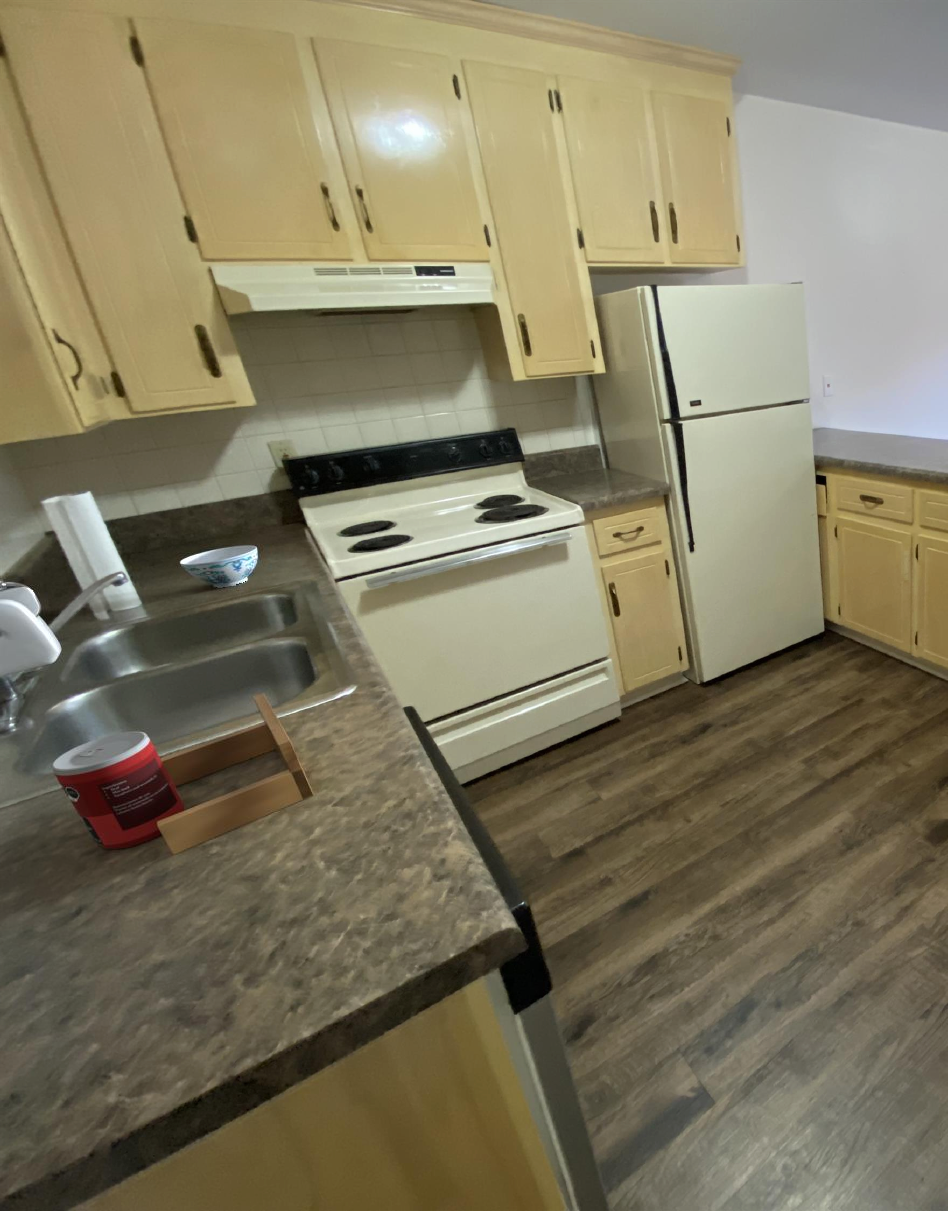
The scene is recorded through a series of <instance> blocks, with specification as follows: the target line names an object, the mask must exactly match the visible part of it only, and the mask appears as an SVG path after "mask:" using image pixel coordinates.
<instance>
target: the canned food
mask: <svg viewBox="0 0 948 1211" xmlns="http://www.w3.org/2000/svg"><path fill="white" fill-rule="evenodd" d="M160 758H161V757H160V755H159V754H158V750H156V748H155V746H154V744H153V742H152V740H151V738H150V737H149V736H148V734H147V733H146V732H143V731H126V732H125V731H124V732H119V733H114V734H110V735H106V736H103V737H99V738H96V739H93V740H91V741H88V742H85V743H83V744H80V745H78V746H76V747H73V748H72V749H70V750H68V751H66V752H64V753H62V754H61V755H60V756H59V757H57V758H56V759H55V760H54V761H53V762H52V763H51V766H50V768H51V769H52V773H53V774H54V776H55V778H56V780H57V781H58V783H59V785H60V786H61V788H62V790H63V791H64V793H65V794H66V796H67V797H68V799H69V801H70V802H71V804H72V806H73V807H74V809H75V811H76V813H77V814H78V815H79V817H80V819H81V821H82V822H83V824H84V825H85V827H86V829H87V830H88V832H89V834H90V835H91V836H92V837H91V838H93V840H94V842H95V843H96V844H98V845H99V846H101V847H102V848H104V849H107V850H119V849H120V850H121V849H125V848H130V847H134V846H137V845H141V844H143V843H147V842H148V841H151V840H153V839H155V838H158V837H160V836H162V834H161V832H160V830H159V828H158V826H157V822H158V821H160V820H163V819H165V818H168V817H170V816H173V815H175V814H178V813H180V812H183V811H185V810H186V809H185V803H184V802H183V799H182V797H181V796H180V793H179V792H178V790H177V788H176V787H175V786H174V784H173V782H172V780H171V778H170V776H169V774H168V772H167V771H166V769H165V767H164V765H163V763H162V761H161V759H160Z"/></svg>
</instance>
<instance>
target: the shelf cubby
mask: <svg viewBox="0 0 948 1211" xmlns="http://www.w3.org/2000/svg"><path fill="white" fill-rule="evenodd" d="M252 699H253V700H254V702H255V705H256V707H257V709H258V712H259V713H260V716H261V719H262V720H263V722H259V723H257V724H254V725H251V726H248V727H245V728H242V729H240V730H236V731H234V732H231V733H228V734H226V735H223V736H219V737H217V738H214V739H211V740H209V741H205V742H202V743H200V744H197V745H194V746H191V747H188V748H186V749H183V750H180V751H177V752H174V753H171V754H168V755H166V756H163V757H160V759H161V761H162V763H163V765H164V767H165V769H166V771H167V772H168V774H169V776H170V778H171V780H172V782H173V784H174V786H175V788H176V787H179V786H182V785H184V784H187V783H190V782H192V781H195V780H198V779H200V778H203V777H205V776H209V775H210V774H214V773H216V772H219V771H222V770H224V769H227V768H230V767H232V766H235V765H237V764H240V763H242V762H245V761H248V760H251V759H253V758H256V757H258V755H259V756H261V755H264V754H267V753H270V752H272V751H274V749H275V750H276V751H277V753H278V756H279V758H280V759H281V761H282V763H283V765H284V767H285V769H286V770H284V771H281V772H278V773H276V774H274V775H271V776H268V777H266V778H263V779H261V780H259V781H255V782H253V783H251V784H249V785H246V786H243V787H240V788H238V789H236V790H234V791H230V792H228V793H226V794H223V795H221V796H218V797H215V798H212V799H211V800H208V801H205V802H203V803H200V804H197V805H196V806H192V807H190V808H188V809H185V811H183V812H180V813H178V814H175V815H173V816H170V817H168V818H165V819H163V820H160V821H158V822H157V826H158V828H159V830H160V832H161V836H162V837H163V839H164V841H165V843H166V844H167V846H168V849H169V850H170V852H171V853H172V855H173V856H174V855H177V854H179V853H182V852H184V851H186V850H189V849H191V848H194V847H195V846H199V845H200V844H202V843H205V842H207V841H209V840H212V839H214V838H217V837H219V836H221V835H224V834H226V833H228V832H231V831H233V830H236V829H237V828H240V827H243V826H245V825H247V824H249V823H252V822H255V821H257V820H259V819H261V818H263V817H265V816H268V815H270V814H272V813H275V812H277V811H280V810H282V809H284V808H287V807H289V806H292V805H293V804H296V803H299V802H301V801H303V800H305V799H308V798H310V797H312V796H314V795H315V794H314V791H313V790H312V787H311V785H310V783H309V780H308V778H307V776H306V774H305V771H304V769H303V766H302V764H301V762H300V760H299V757H298V755H297V752H296V751H295V748H294V746H293V743H292V740H291V739H290V737H289V735H288V734H287V732H286V730H285V729H284V727H283V725H282V724H281V721H280V719H279V718H278V716H277V714H276V713H275V711H274V709H273V707H272V706H271V704H270V702H269V700H268V698H267V697H266V694H265V693H260V694H258V695H253V697H252ZM271 750H272V751H271ZM266 752H267V753H266ZM263 753H264V754H263ZM250 758H251V759H250Z"/></svg>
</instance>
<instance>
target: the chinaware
mask: <svg viewBox="0 0 948 1211" xmlns="http://www.w3.org/2000/svg"><path fill="white" fill-rule="evenodd" d="M258 556H259V555H258V548H257V546H256V545H237V546H236V545H235V546H228V547H223V548H222V547H221V548H216V549H212V550H208V551H203V552H200V553H197V554H193V555H189V556H187V557H185V558H182V559H181V560H180V561H179V564H180V566H181V567H182V568H183V570H185V572H186V573H187V574H188V575H190V576H191V577H193V578H194V579H196V580H198V581H200V582H202V583H204V584H205V583H206V584H209V585H212V586H213V587H214V588H215V587H217V588H216V589H224V588H223V587H225V588H230V586H231V587H234V586H237V585H236V584H239V583H242V584H244V583H246V582H247V581H248V580H249V579H248V577H249V576H250V575H251V574H252V572H253V571H254V570H255V568H256V566H257V563H258ZM245 581H246V582H245ZM243 582H244V583H243ZM239 585H240V584H239Z"/></svg>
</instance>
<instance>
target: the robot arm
mask: <svg viewBox="0 0 948 1211" xmlns="http://www.w3.org/2000/svg"><path fill="white" fill-rule="evenodd" d="M8 587H11V588H8ZM41 612H42V604H41V602H40V600H39V599H38V596H37V595H36V593H35V591H34V590H33V589H32V588H31V587H29V586H28V585H26V584H23V583H20V582H14V581H4V580H3V579H0V678H3V677H6V676H9V675H14V674H18V673H21V672H25V671H28V670H32V669H36V668H39V667H44V666H47V665H51V664H54V663H55V662H56V661H57V660H58V658H59V656H60V655H61V653H62V646H61V644H60V643H61V642H59V640H58V638H57V637H56V635H55V634H54V632H53V631H52V630H51V628H50V627H49V626H48V624H47V623H46V621H45V620H44V619H43V618H42V617H41V615H40V614H41Z"/></svg>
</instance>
